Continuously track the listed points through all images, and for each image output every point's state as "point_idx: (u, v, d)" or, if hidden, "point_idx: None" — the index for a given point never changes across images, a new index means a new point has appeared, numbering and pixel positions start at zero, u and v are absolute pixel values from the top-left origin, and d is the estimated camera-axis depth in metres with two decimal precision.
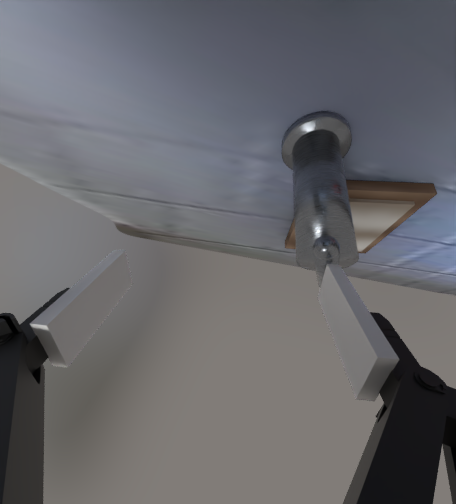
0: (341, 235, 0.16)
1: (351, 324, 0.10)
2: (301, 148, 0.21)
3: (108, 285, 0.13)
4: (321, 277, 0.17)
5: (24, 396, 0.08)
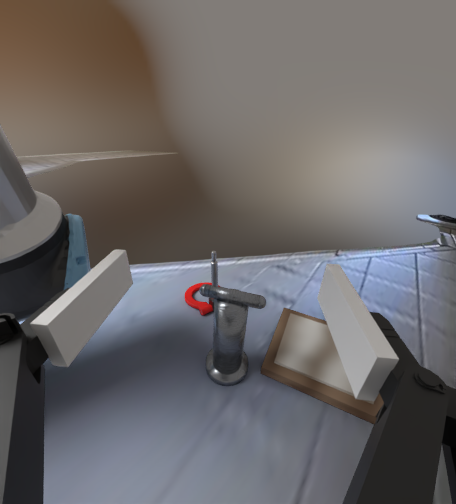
0: None
1: (351, 324, 0.10)
2: (213, 357, 0.33)
3: (108, 285, 0.13)
4: (233, 294, 0.28)
5: (24, 396, 0.08)
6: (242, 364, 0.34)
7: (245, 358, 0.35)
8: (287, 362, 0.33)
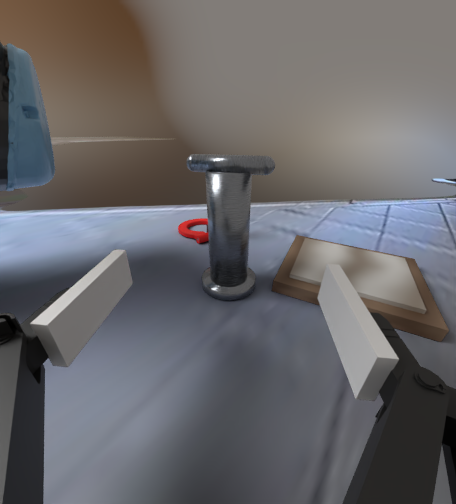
0: None
1: (351, 324, 0.10)
2: (210, 267, 0.26)
3: (108, 285, 0.13)
4: (229, 157, 0.21)
5: (24, 396, 0.08)
6: (248, 279, 0.27)
7: (252, 274, 0.28)
8: (306, 275, 0.26)
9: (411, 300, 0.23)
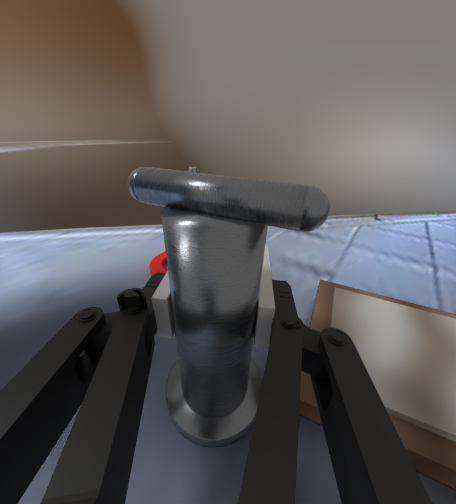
0: None
1: None
2: None
3: None
4: (215, 181, 0.08)
5: (137, 369, 0.08)
6: (248, 394, 0.15)
7: (257, 380, 0.15)
8: None
9: None
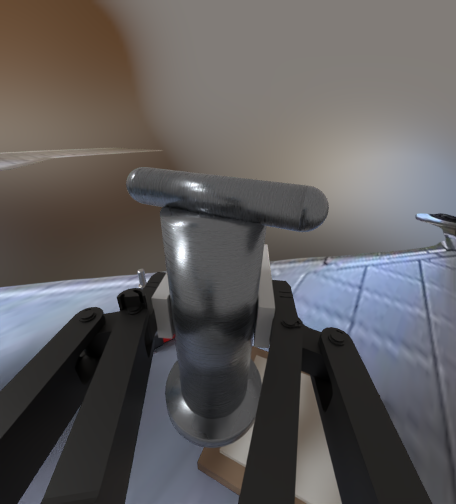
0: None
1: None
2: None
3: None
4: (214, 181, 0.08)
5: (137, 369, 0.08)
6: (248, 395, 0.15)
7: (257, 380, 0.15)
8: (239, 452, 0.21)
9: None
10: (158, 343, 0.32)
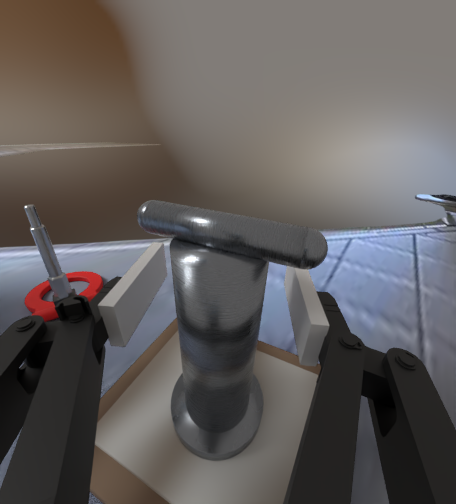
0: None
1: (300, 301, 0.12)
2: None
3: (151, 275, 0.14)
4: (221, 220, 0.09)
5: (87, 376, 0.08)
6: (250, 409, 0.15)
7: (258, 394, 0.16)
8: (113, 440, 0.14)
9: None
10: None
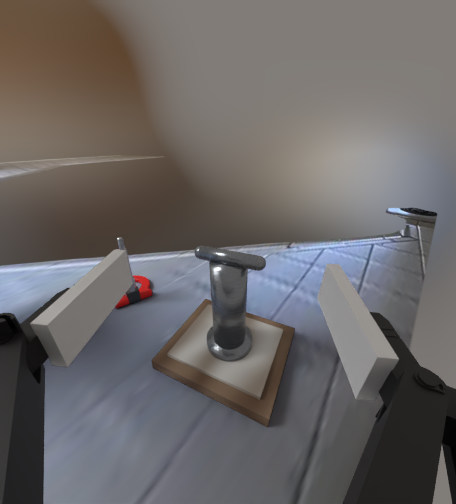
0: None
1: (351, 324, 0.10)
2: (213, 330, 0.31)
3: (108, 285, 0.13)
4: (228, 254, 0.25)
5: (24, 396, 0.08)
6: (245, 340, 0.31)
7: (250, 335, 0.32)
8: (180, 355, 0.30)
9: (254, 385, 0.27)
10: (136, 298, 0.42)
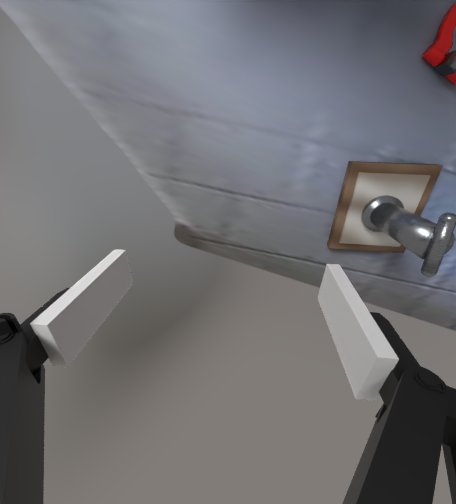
0: None
1: (351, 324, 0.10)
2: (383, 207, 0.37)
3: (108, 285, 0.13)
4: (437, 250, 0.28)
5: (24, 396, 0.08)
6: None
7: None
8: (360, 184, 0.38)
9: (346, 238, 0.43)
10: (443, 72, 0.31)
